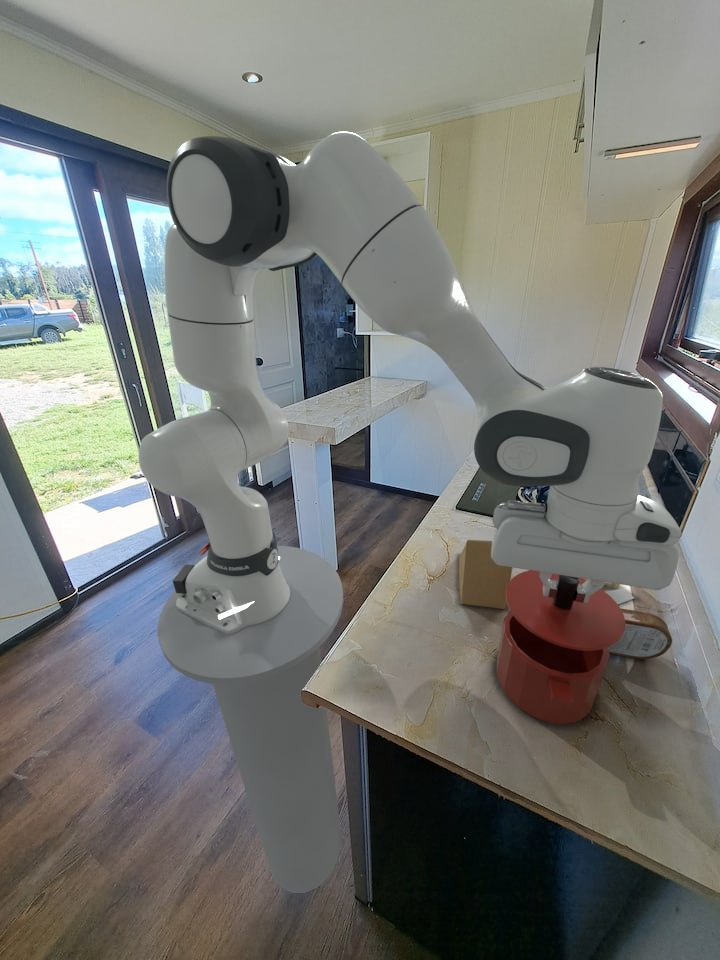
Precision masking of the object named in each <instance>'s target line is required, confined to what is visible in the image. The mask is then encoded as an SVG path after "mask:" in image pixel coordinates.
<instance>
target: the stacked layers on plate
mask: <svg viewBox="0 0 720 960" xmlns="http://www.w3.org/2000/svg"><path fill="white" fill-rule="evenodd" d="M585 580H588V579H585ZM601 589H602V590H604V591H605V592H606V593H607V594H609V595H610V596H611V597H612V598H613V599H614V600H615V602H616V603H617V604H618V605H621V604H623V603H626V602H629V601H632V600H634V599H635V596H633V595H632V594H630V593H629V592H627V591H626V590H624V589H623V588H622V587H621V584H615V583H609V582H605V583H604V586H603V587H602V588H601Z"/></svg>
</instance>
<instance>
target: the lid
mask: <svg viewBox="0 0 720 960" xmlns="http://www.w3.org/2000/svg"><path fill="white" fill-rule="evenodd" d="M549 579H550V580H554V581H556V583H557V585H556V586H557V588H558V591H557V594H556V598H551V597H546V596H543V582H542V581H541V579H540V577H539V571H532V570H525V571H523V572H519V573H518V574H516V575H515V576H513V577H511V579H510V582H509V583H508V585H507V588H506V595H505V597H506V605H507V607H508V611H511V613H512V614H513V616H514V617H515V618H516V619H517V621H518V622H519V623H520V624H522V625H523V626H524V627H525V628H526V629H528V630H529V631H530V632H532V633H533V634H535V635H536V636H538V637H540V638H542V639H544V640H546V641H548V642H550V643H553V644H556V645H558V646H561V647H565V648H569V649H575V650H584V651H593V650H601V649H605V648H608V647H610V646H612V645H614V644H616V643H617V642H618V641H619V640H620V639H621V637H622V636H623V633H624V631H625V626H626V624H625V618H624V614H623V612H622V610H621V608H622V607H620V606H619V605H620V604H617V603H616V602H615V600H614V599H613V598H612V597H611V596H610V595H609V594H607V593H606V592H605V591H604V590H602V589H599V590H598V591H596V592H595V593H593V594H592V595H590V597H589V600H588V603H587V604H586V603H580V602H575V601H574V598H575V595H576V591H577V587H578V584H579V585H582V584H583V583H585V582H586V581H587V580H585V579H583V578H577V577H570V576H564V575H558V574H552V576H551V578H549Z"/></svg>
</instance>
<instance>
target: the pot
mask: <svg viewBox="0 0 720 960" xmlns="http://www.w3.org/2000/svg"><path fill="white" fill-rule="evenodd" d="M610 657H611V653H609V650H608V648H605V649H601V650H593V651H584V650H575V649H569V648H565V647H561V646H558V645H556V644H553V643H550V642H548V641H546V640H544V639H542V638H540V637H538V636H536V635H535V634H533V633H532V632H530V631H529V630H528V629H526V628H525V627H524V626H523V625H522V624H520V623H519V622H518V621H517V619H516V618H515V617H514V616H513V614H512V613H511V611H510V610H508V612H507V614H506V615H505V617H504V619H503V623H502V628H501V634H500V640H499V646H498V650H497V657H496V668H495V670H496V676H497V680H498V683H499V685H500V687H501V689H502V691H503V692H504V694H505V695H506V696H507V697H508V699H509V700H510V701H511V702H512V703H513V704H515V706H516V707H517V708H518V709H520V710H522V711H523V712H525V714H528V715H529V716H531V717H533V718H535V719H538V720H540V721H543V722H547V723H550V724H556V725H568V724H574V723H576V722H579V721H581V720H583V719H584V718H585V717H586V716H587V715H588V714H589V713H590V712H591V711H592V708H593V705H594V702H595V699H596V697H597V694H598V692H599V689H600V686H601V683H602V681H603V678H604V675H605V673H606V670H607V668H608V667H607V666H608V664H609V660H610Z"/></svg>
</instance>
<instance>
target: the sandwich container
mask: <svg viewBox="0 0 720 960" xmlns="http://www.w3.org/2000/svg"><path fill="white" fill-rule="evenodd" d="M491 545H492V540H481V539H467V540H466V543H465V545H464V548H463V550H462V551H461V552H460V555H459V558H458V559H459V560H458V561H459V562H458V564H459V565H458V576H459V580H458V581H459V595H460V597H459V598H460V604H461V605H466V606H467V605H469V606H474V607H482V608H483V607H484V608H492V609H500V610H505V609H506V605H507V602H506V597H505V595H506V588H507V585H508V583H509V582H510V580H511V579H512V573H513V567H507V566H500V565H497V564H496V563H495V562H494V561H493V559H492V558H491Z"/></svg>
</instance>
